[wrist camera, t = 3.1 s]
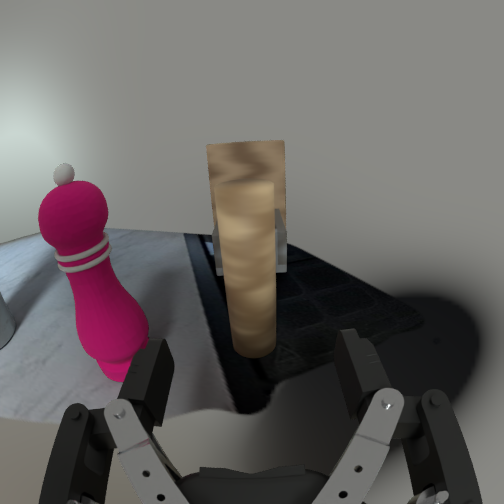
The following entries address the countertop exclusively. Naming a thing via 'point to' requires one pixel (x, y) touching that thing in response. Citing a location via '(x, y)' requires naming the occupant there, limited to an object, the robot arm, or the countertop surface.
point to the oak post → (249, 262)
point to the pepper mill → (92, 273)
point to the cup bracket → (251, 167)
